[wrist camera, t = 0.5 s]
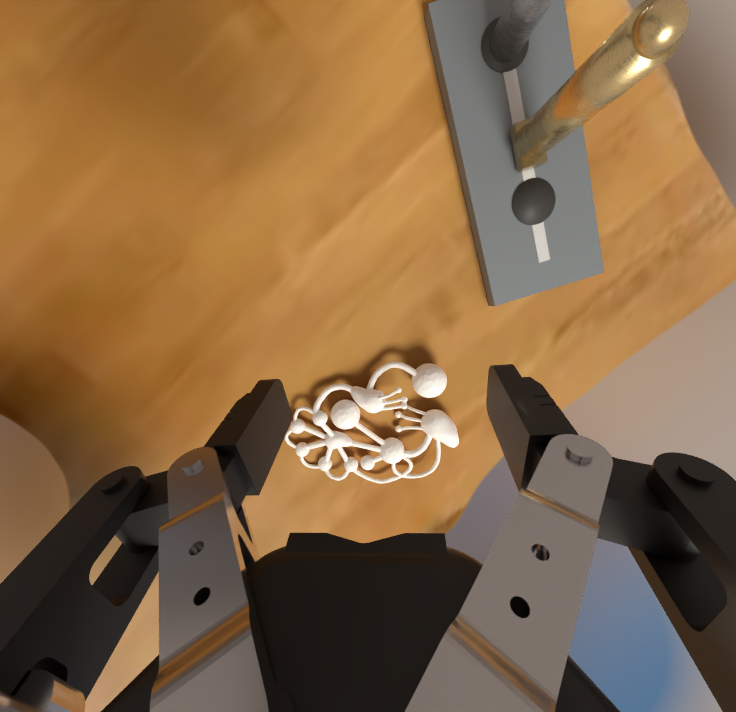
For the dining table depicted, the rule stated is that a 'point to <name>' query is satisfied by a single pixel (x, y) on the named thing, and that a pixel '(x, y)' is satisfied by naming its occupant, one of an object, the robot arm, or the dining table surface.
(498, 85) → the board
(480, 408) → the dining table surface
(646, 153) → the dining table surface
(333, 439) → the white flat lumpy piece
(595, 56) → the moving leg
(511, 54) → the fixed leg
